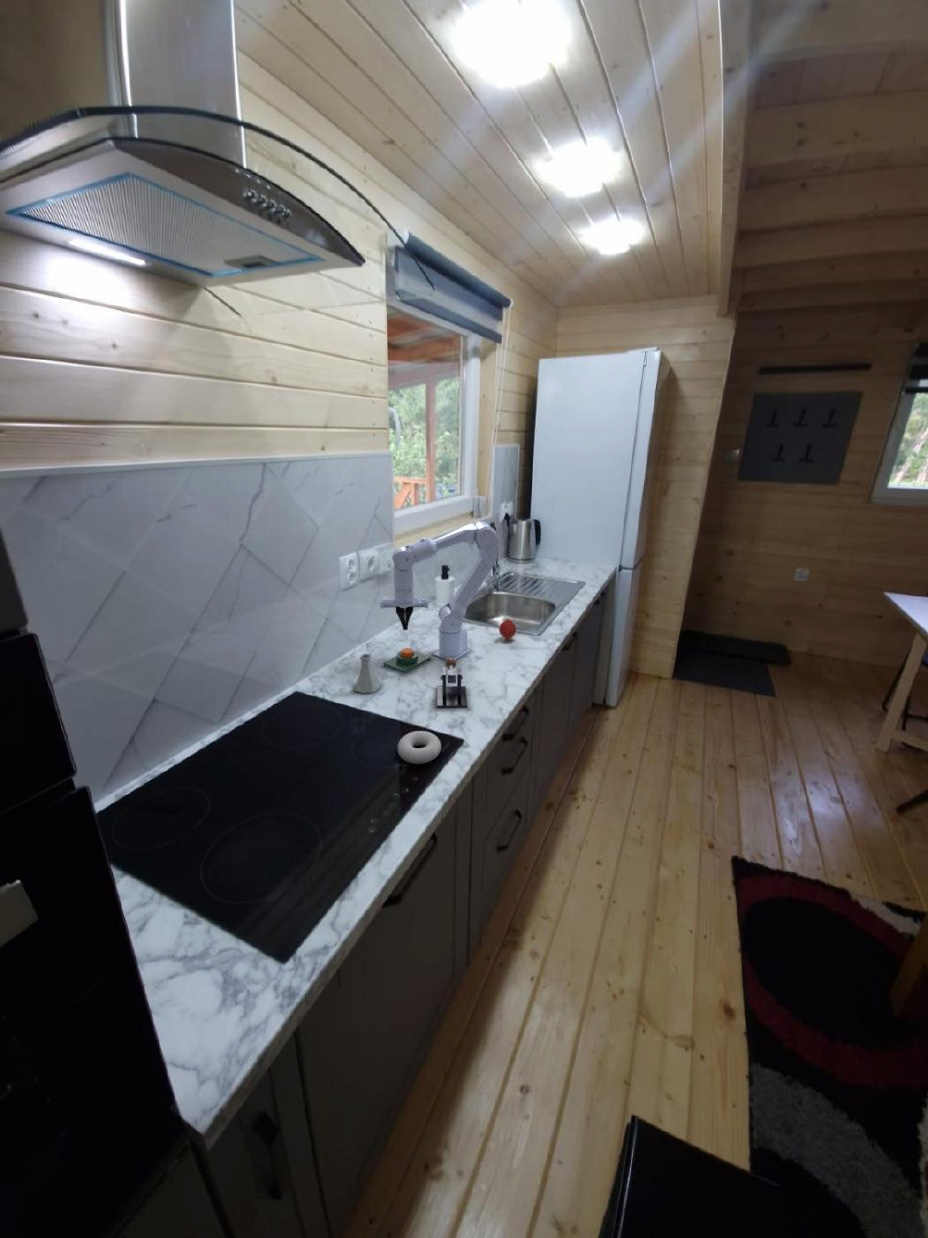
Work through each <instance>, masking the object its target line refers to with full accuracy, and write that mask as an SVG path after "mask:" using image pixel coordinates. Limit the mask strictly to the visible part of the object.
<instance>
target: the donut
mask: <svg viewBox="0 0 928 1238" xmlns="http://www.w3.org/2000/svg"><path fill="white" fill-rule="evenodd" d="M418 746H422V747H419V748H417V747H418ZM441 750H442V743H441V740H440V739H439V737H438V736H437V735H436V734H434V733H432V732H429V731H426V730H415V731H411V732H408V733H407V734H405V735H403V736H402V737H401V738H400V740H399V742H398V743H397V753H398V755H399V757H400V758H401V759H402V760H403V761H405V762H407V763H410V764H415V765H423V764H427V763H429V762H430V763H431V762H432V761H433V760H435V759H436V758H437V757H438V756H439V755H440V753H441Z"/></svg>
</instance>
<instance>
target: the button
mask: <svg viewBox="0 0 928 1238" xmlns="http://www.w3.org/2000/svg"><path fill="white" fill-rule="evenodd" d="M400 651H401V656H402V657H404V658H409V657H412V656H413V651H414V650H413V648H411V647H405V648H402V649H401V650H400Z"/></svg>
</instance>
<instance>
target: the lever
mask: <svg viewBox="0 0 928 1238" xmlns="http://www.w3.org/2000/svg"><path fill="white" fill-rule="evenodd" d="M444 665H445V667H446V669H448V670H446V680H447V684H457V670H455V669H456V668H457V659H456V660H455V659H453V658H449V659H445V663H444Z"/></svg>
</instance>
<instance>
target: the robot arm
mask: <svg viewBox="0 0 928 1238" xmlns="http://www.w3.org/2000/svg"><path fill="white" fill-rule="evenodd" d="M419 540H420V541H417V542H414V543H412V544H409V543H407V544H405V547H403V546H400V547H397V548H396V549H395V550H394V551H393V553H392V556H391V558H392V561H393V587H394V598H392V599H383V600H380V603H379V605H380V609H385V608H387V609H388V608H389V609H390V608H395V614H396V615H397V617H398V619H399V621H400V623H401V626H402V631H408V630H409V622H410V620H411V617H412V614H413V612H414V608H424V609H428V608H429V600H428V599H419V598H415V597H414V595H415V594H414V573H413V567H414V564H415V565H417V564H418V563H419V564H420V563H421V562H424V561H426V560H429V559H432V558H434V557H436V556H437V554H438V553H439V551H441V550H444V549H447V548H450V547H453V546H456V545H458V544H462V543H465V544H470V545H475V544H476V546H477V550H478V554H479V556H478V557H477V559H476V561H475V563H474V564H473V566H472V567H471V569H470V570H469V572H468V574H467V575H466V577H465V578H464V580H463V581H462V582H461V585H460V587H459V588H458V590H457V591H456V593H455V594H454V596H452V598H450V599H449V600H448V601H447V603H446V604H444V605H443V606H442V607H440V609H439V611H438V618H439V620H440V622H441V623H440V625H439V626H438V650H437V651H435V652H434V653H433V656H435V657H439V658H441V659H445V660H447V659H449V658H453V659H455V660H456V661H457V659H459V658H461V657H463V656H464V655H465V654H468V653H469V652H470V649H469V648H468V630H467V629H466V627H465V626H464V625H463V622H464V619H465V617H466V614H467V608H468V606H469V605H470V604H471V601H473V598H474V597H475V596H476V594H477V593H478V591H479V589H480V587H481V586H482V584H483V583H484V581H485V580H486V578H487V577H488V576H489V573H490V572H491V570H492V569H493V568H494V566H495V564H496V562H497V560H498V557H499V556H498V555H499V543H500V538H499V536H498V533H497V531H496V530H495V528H493V527H491V526H490V524H489V523H488V522H486V521H484V520H477V521H476V522H474V523H473V522H472V523H469V524H467V525H464V526H462V527H460V528H458V529H456V530H454V531H453V530H452V531H451V532H448V533H447V534H445V535H442V536H440V537H438V538H435V539H432V538H430V537H427V538H425V537H421V538H420V539H419Z"/></svg>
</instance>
